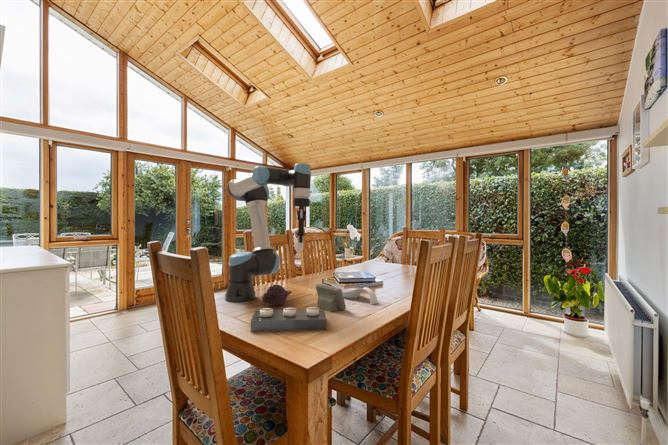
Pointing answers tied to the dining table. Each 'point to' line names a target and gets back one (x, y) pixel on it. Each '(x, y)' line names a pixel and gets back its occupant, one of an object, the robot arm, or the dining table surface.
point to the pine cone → (276, 295)
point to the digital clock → (330, 298)
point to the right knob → (312, 311)
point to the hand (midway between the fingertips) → (300, 249)
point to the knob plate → (288, 322)
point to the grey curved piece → (355, 292)
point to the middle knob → (289, 312)
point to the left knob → (266, 312)
